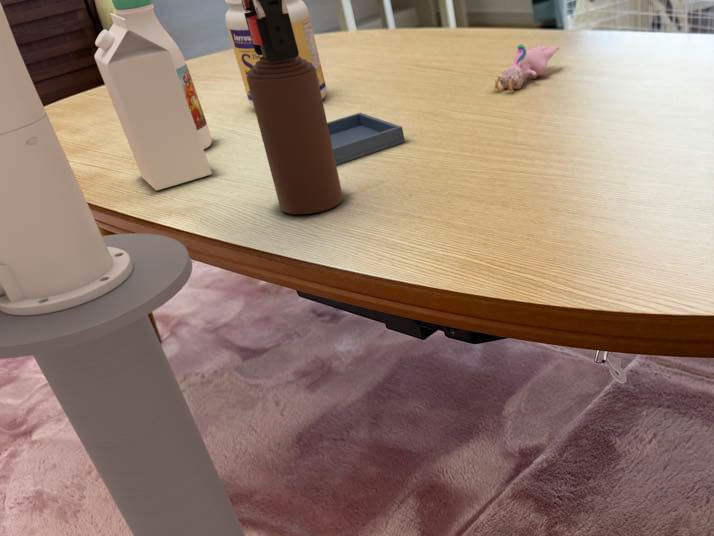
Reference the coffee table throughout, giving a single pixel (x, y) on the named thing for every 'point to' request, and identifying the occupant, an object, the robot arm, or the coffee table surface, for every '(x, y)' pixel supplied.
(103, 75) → the milk carton
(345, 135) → the tray
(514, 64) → the pink elongated figure
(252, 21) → the cap
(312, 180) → the bottle
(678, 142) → the coffee table surface
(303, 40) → the supplement tub
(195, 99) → the milk bottle
